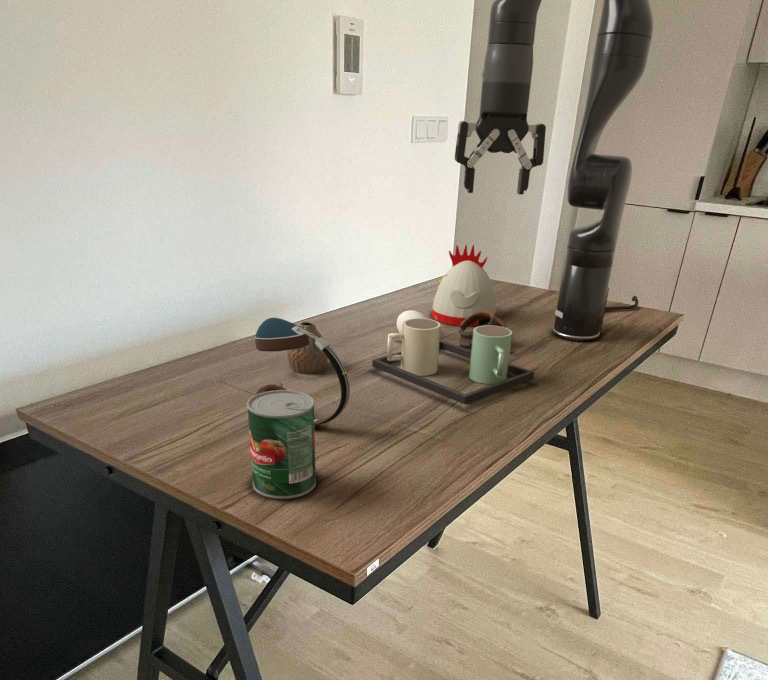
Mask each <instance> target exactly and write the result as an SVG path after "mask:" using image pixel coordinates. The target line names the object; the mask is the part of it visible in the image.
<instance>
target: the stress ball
mask: <svg viewBox="0 0 768 680" xmlns="http://www.w3.org/2000/svg"><path fill="white" fill-rule="evenodd" d="M415 318H423V319H428V318H427V317H426V316H425V315H424V314H423V313H421V312H419V311H417V310H412V309H410V310H405V311H403V312H401V313H400V314H399V315H398V317H397V319H396V328H397V331H398V333H402V326H403V322H404V321H405V320H408V319H415Z"/></svg>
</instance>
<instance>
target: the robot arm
mask: <svg viewBox="0 0 768 680" xmlns="http://www.w3.org/2000/svg"><path fill="white" fill-rule="evenodd" d="M542 2H543V0H493V2H492V4H491V7H490V11H489V20H488V33H487V44H486V51H485V55H484V61H483V68H482V69H483V70H482V72H481V73H482V74H481V78H482V80H481V81H482V82H481V93H480V106H479V115H478V119H477V121H476V123H475V122H469V121H468V122H467V121H465V120H461V121H459V123H458V127H457V135H456V143H455V144H456V145H455V151H454V161H455V162H457V163H458V164H460V165H463V167H464V176H463V187H464V189H465V190H466V192H467V193H468V194H473V193H474V187H475V186H474V184H475V172H476V168H475V165H476V164H477V163H478V161H479V160H480V159H481V158H482V157H483V156H484V155H485V153H486V152H489V153H491V154H496V153H500V152H501V153H504V154H511V153H513V154H514V156H515V157H516V158H517V160H518V162H519V164H520V166H521V168H519V169H518V170H519V171H518V177H517V179H518V180H517V188H516V193H517V195H523V196H524V193H525V192H527V191H528V189H529V183H530V175H531V170H532V169H533V168H536V167H540V166H542V165H543V164H544V156H545V145H546V144H545V143H546V132H547V126H546V125H545V123H540V122H539V123H538V122H537V123H536V124H529V123H528V111H529V103H530V102H529V101H530V93H531V87H532V86H531V85H532V78H533V77H532V76H533V70H534V69H533V67H534V44H535V38H536V28H537V20H538V13H539V10H540V7H541V4H542ZM653 34H654V16H653V12H652V7H651V3H650V0H603V1H602V7H601V12H600V17H599V23H598V28H597V33H596V38H595V43H594V48H593V52H592V53H593V55H592V60H591V66H590V72H589V73H590V74H589V80H588V86H587V93H586V98H585V102H584V103H585V105H584V108H583V109H584V110H583V114H582V119H581V124H580V127H579V130H578V131H579V132H578V136H577V140H576V145H575V149H574V151H573V157H572V160H571V165H570V170H569V174H568V180H567V186H566V200H567V203H568V204H569V206H570V207H574V208H579V209H588V210H599V211H602V215H601V217H600V218H599V219H598V220H597V221H594V222H593V223H590V224H587V225H583V226H578V227H575V228H572V229H570V231H569V232H568V235H567V240H566V248H565V255H564V260H563V265H562V266H563V267H562V274H561V280H560V285H559V286H560V287H559V292H558V299H557V305H556V309H555V310H554V311H555V312H554V316H555V318H554V323H553V324H554V325H553V327H552V334H554V335H555V336H557V337H558V338H561V339H565V340H570V341H578V342H579V341H580V342H586V341H587V342H588V341H595V340H598V339H599V338H600V334H602V329H603V323H604V319H605V313H606V311H626V310H633V309H635V308H637V307H638V305H639V299H638V297H637V296H636V295H633V296H631V297H632V298H631V301H632V302H634V304H632V305H624V306H623V305H618V306H615V305H614V306H607V302H608V298H609V297H608V296H609V292H610V287H609V284H610V279H611V274H612V270H613V269H612V268H613V263H614V257H615V252H616V248H617V243H618V238H619V233H620V228H621V223H622V219H623V215H624V211H625V206H626V202H627V199H628V194H629V190H630V186H631V181H632V174H633V164H632V160H631V159H630V157H628V156H625V155H611V154H600V153H599V154H597V153H596V151H597V147H598V144H599V142H600V139H601V137H602V135H603V132H604V129H605V128H606V127H607V125H608V123H609V122H610V120H611V118H612V117H613V116H614V114H615V113H616V112H617V110H618V109H619V108H620V106H621V105H622V104H623V103H624V102H625V100H626V99H627V98H628V97H629V95H630V94H631V93H632V92H633V90H634V89H635V87H636V86H637V85H638V83H639V82H640V80H641V79H642V77H643V75H644V73H645V71H646V68H647V63H648V59H649V53H650V50H651V43H652V39H653ZM474 131H475V133H476V135H477V136H478V138H479V141H478V142H477V143H476V145H475V147H474V148H473V149H472V151H471V153H470V154H469V155H468V156H465V154H466V147H467V140H468V139H467V138H470V137H471V136H472V134H473V132H474ZM528 133H529V134H530V135H529V136H530V138H531V140H533V149H532V157H531V158H529V155H528V154H527V151H526V149H525V148H524V146H523V144H522V141H523V139H525V137H526V136H527V135H528Z"/></svg>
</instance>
